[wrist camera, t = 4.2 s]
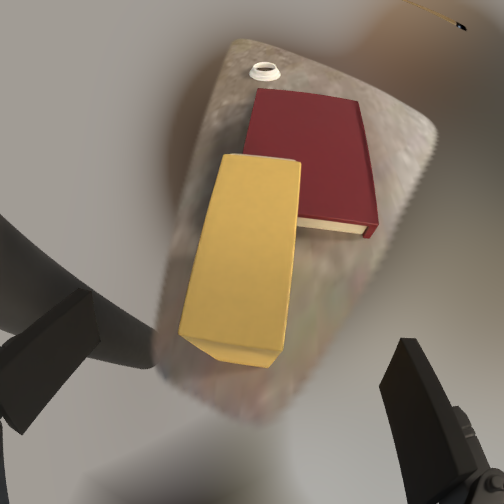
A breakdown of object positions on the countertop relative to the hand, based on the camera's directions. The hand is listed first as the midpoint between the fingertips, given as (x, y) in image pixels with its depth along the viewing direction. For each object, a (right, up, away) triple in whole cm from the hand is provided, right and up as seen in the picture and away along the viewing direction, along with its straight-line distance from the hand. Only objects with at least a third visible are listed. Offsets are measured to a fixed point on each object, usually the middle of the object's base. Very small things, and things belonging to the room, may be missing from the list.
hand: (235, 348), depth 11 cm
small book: (+1, -1, +11) cm, 10 cm away
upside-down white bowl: (+2, +26, +24) cm, 35 cm away
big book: (+6, +12, +17) cm, 21 cm away
